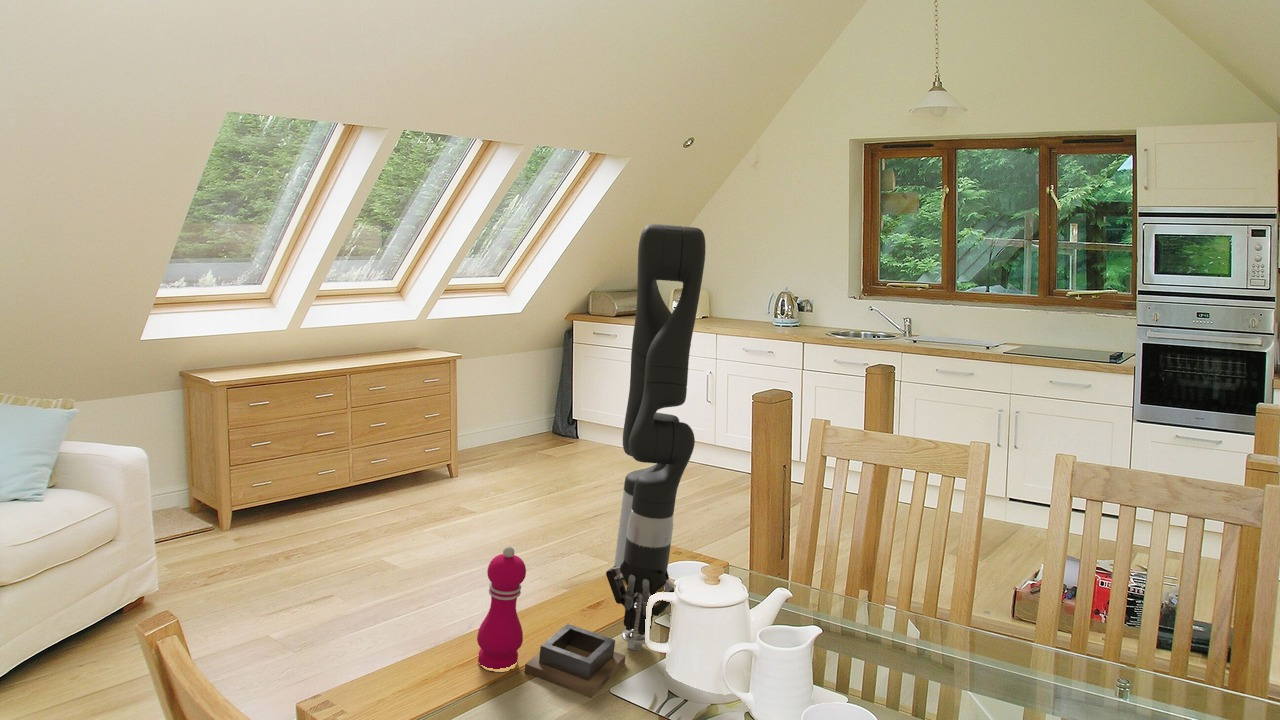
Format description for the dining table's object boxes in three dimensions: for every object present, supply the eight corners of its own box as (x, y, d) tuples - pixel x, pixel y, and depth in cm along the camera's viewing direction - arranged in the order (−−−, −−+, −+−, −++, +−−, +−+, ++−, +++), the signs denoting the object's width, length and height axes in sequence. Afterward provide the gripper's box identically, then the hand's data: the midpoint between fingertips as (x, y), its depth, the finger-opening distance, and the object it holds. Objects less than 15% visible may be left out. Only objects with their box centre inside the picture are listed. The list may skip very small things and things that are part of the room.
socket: (565, 639, 161) (567, 623, 160) (613, 656, 157) (615, 640, 157) (538, 662, 153) (540, 645, 152) (588, 681, 149) (590, 663, 149)
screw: (630, 636, 167) (653, 646, 165) (614, 646, 163) (638, 657, 161) (639, 567, 165) (663, 577, 162) (624, 576, 161) (648, 586, 158)
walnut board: (561, 641, 163) (562, 633, 163) (624, 663, 158) (625, 655, 158) (524, 672, 152) (525, 663, 152) (591, 697, 148) (592, 688, 147)
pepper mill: (516, 677, 151) (529, 559, 146) (470, 671, 151) (482, 553, 146) (523, 653, 158) (535, 540, 153) (479, 648, 158) (490, 534, 153)
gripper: (695, 540, 161) (682, 634, 164) (621, 518, 166) (610, 610, 170) (678, 555, 154) (665, 653, 158) (602, 532, 159) (590, 627, 163)
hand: (636, 630), depth 164 cm, fingers closed on screw, 2 cm apart
